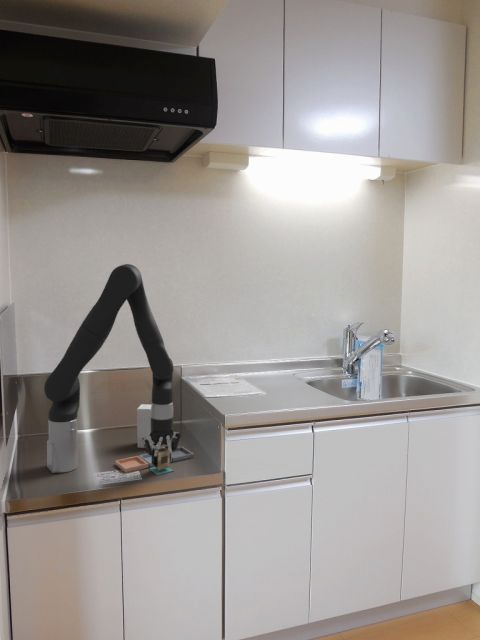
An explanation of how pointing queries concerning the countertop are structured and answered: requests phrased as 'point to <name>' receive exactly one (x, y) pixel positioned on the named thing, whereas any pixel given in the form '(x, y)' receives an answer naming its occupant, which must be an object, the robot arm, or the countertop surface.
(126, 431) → the countertop surface
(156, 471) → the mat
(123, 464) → the dish terracotta
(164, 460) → the letter block
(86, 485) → the countertop surface
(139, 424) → the skincare box
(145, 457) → the dish slate
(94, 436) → the countertop surface
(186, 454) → the dish charcoal
